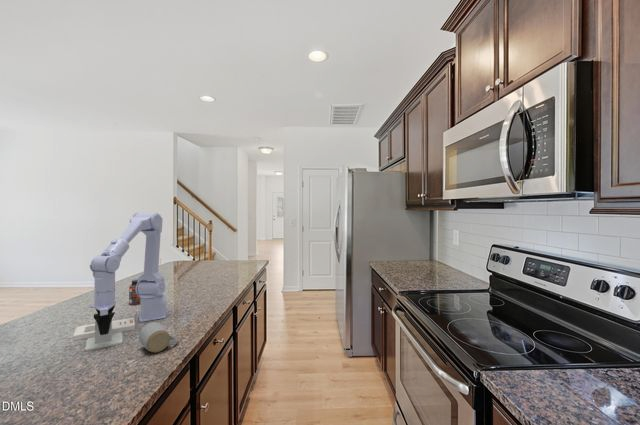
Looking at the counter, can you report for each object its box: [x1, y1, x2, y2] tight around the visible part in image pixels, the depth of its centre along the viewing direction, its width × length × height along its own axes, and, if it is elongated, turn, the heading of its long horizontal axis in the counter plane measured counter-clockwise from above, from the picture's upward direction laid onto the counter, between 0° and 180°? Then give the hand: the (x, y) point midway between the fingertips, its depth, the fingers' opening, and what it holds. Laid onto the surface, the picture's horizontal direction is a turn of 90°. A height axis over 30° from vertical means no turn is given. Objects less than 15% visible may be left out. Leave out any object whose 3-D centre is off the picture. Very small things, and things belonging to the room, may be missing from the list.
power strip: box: [72, 317, 136, 341], centre depth 112 cm, size 18×10×2 cm, turn 124°
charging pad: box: [84, 332, 123, 352], centre depth 102 cm, size 10×10×1 cm
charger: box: [94, 319, 113, 344], centre depth 102 cm, size 4×4×7 cm
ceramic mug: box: [138, 321, 179, 353], centre depth 98 cm, size 11×8×8 cm
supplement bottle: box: [128, 278, 141, 306], centre depth 145 cm, size 6×6×11 cm
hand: (104, 330), depth 102 cm, fingers open, 7 cm apart
